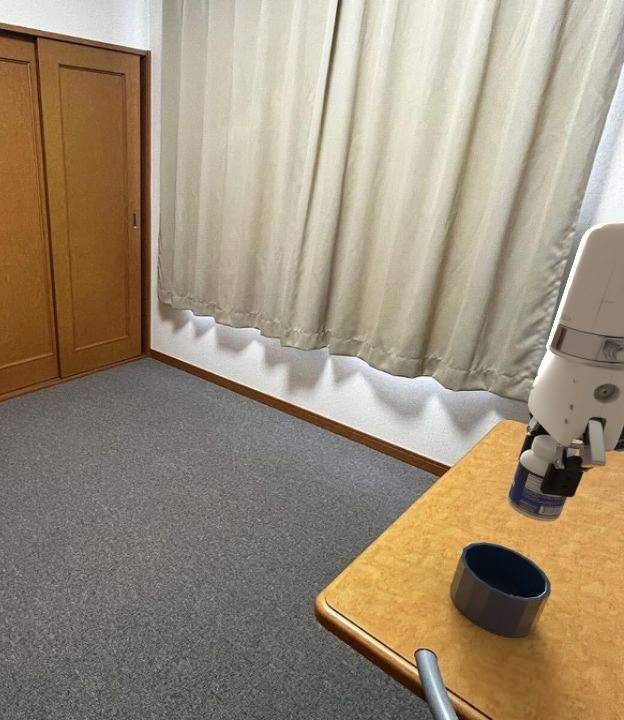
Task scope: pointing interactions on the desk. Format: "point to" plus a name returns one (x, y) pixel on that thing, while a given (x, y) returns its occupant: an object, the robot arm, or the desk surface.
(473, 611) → the bowl
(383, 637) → the desk surface
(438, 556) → the desk surface
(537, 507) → the pill bottle
